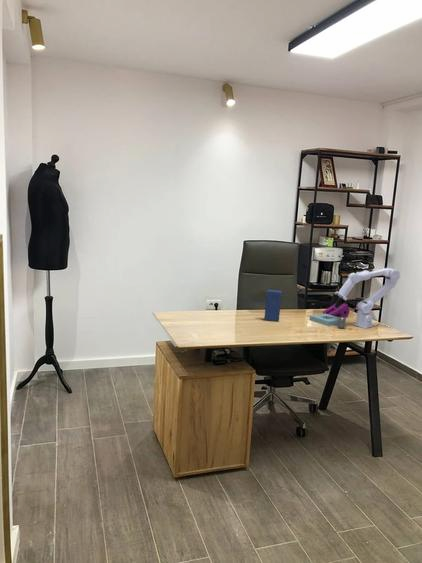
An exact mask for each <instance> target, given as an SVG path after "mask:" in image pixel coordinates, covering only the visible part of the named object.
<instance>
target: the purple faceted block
mask: <svg viewBox="0 0 422 563" xmlns="http://www.w3.org/2000/svg"><path fill="white" fill-rule="evenodd" d="M336 303H337V302H336ZM336 303H335V304H336ZM335 304H334V305H330V306H329V307H327V308H326V309H324V310H323V311H322V314H328V315H332V316H335V317H336V316H338V317H345V318H346V319H347V317H349V315H350V307H349V304H348V303H344V304H342V305H341V306H340V307H338V308H336V307H334V306H335Z"/></svg>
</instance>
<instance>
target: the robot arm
mask: <svg viewBox="0 0 422 563" xmlns="http://www.w3.org/2000/svg"><path fill="white" fill-rule="evenodd" d="M379 276H384V277H385V283H384V284H383V285H381V286H380V288H378V289H377V290H376V291H375V292H374V293H372V295H371V294H370V296H369V297H368V298H365V299H363V300H361V301H359V302H357V304H356V309H357V315H356V321H355V323H353V324H352V325H353V326H356V327H359V328H362V329H369V328H373V326H372V325H373V320H374V319H373V315H372V314H370V313H371V311H372V309H373V308H374V306H375V304H376V303H377V302H378V301H379V300H381V299H383V297H384V296H386V294H388V293H389V292H390V291H391V290H392V289H394V288H395V287H396V285H397V282H398V280H399V279H400V278H401V275H400V271H399V270H398V269H394V268H392V267H384V268H381V269H377V270H376V269H375V270H372V271H369V270H367V269H364V270H363V271H356V273H355V272H351V273H350V274H348V275H347V280H346V281H345V282H344V283H343V285H342V286H341V288H340V289H339V291H338V290H336V291H335V293H333V294H332V297H331V300H330V302H329V303H330V306H332V305H334V304H335V303H336V304H335V306H334V307H336V308H338V307H340V306H341V305H342V304H344V303H345V304H347V300H348V297H347V296H348V295H349V293H350V292H351V291H352V289H353V288H354V286H355V285H356V284H358V283H359V282H362V281H367V280H370V279H371V278H372V277H379Z"/></svg>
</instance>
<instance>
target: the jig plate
mask: <svg viewBox="0 0 422 563" xmlns="http://www.w3.org/2000/svg"><path fill="white" fill-rule="evenodd" d="M338 320H339V316H336V315H335V316H332V315H328V314H323V313H319V314H314V315H310V316H309V321H311V322H314V323H318V324H320V325H324V326H327V327H331V326H336V325H337V326H338Z"/></svg>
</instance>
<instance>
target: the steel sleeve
mask: <svg viewBox="0 0 422 563" xmlns="http://www.w3.org/2000/svg"><path fill="white" fill-rule="evenodd" d="M338 318H339V320H338V325H337V329H339V330H345V327H346V319H347V317H346V318H345V317H340V316H338Z"/></svg>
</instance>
